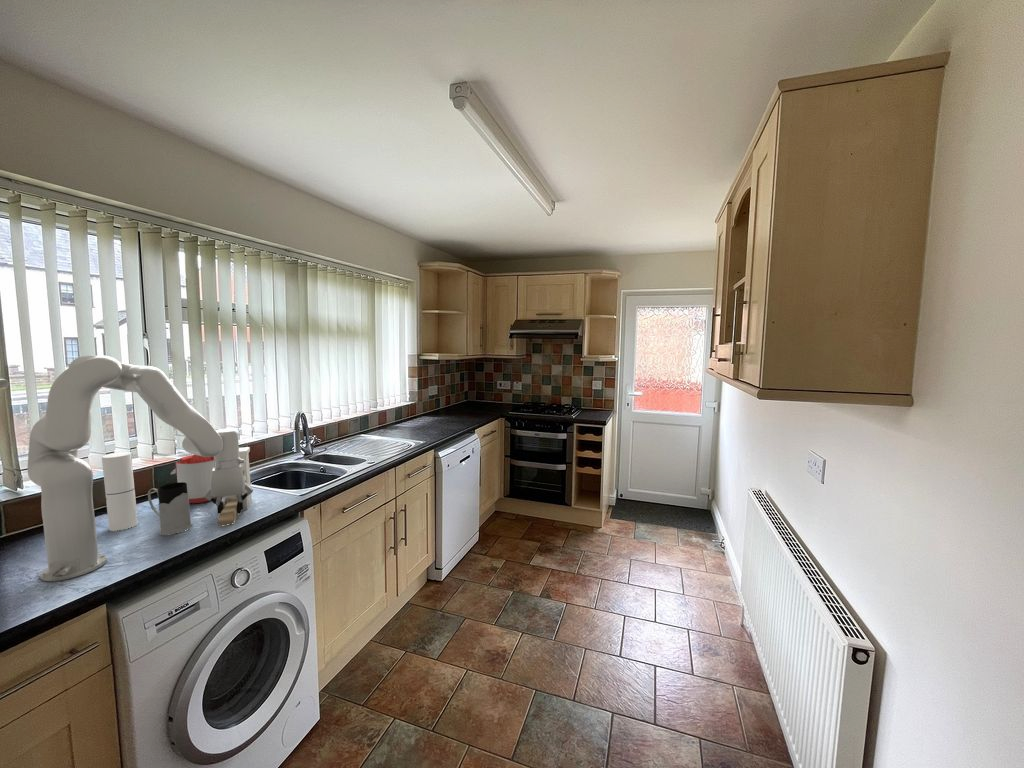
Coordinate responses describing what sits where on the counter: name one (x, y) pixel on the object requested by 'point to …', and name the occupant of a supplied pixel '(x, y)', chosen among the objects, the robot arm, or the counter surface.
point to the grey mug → (172, 508)
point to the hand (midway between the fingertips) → (230, 513)
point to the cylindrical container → (119, 491)
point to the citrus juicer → (195, 476)
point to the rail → (228, 513)
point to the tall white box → (245, 455)
